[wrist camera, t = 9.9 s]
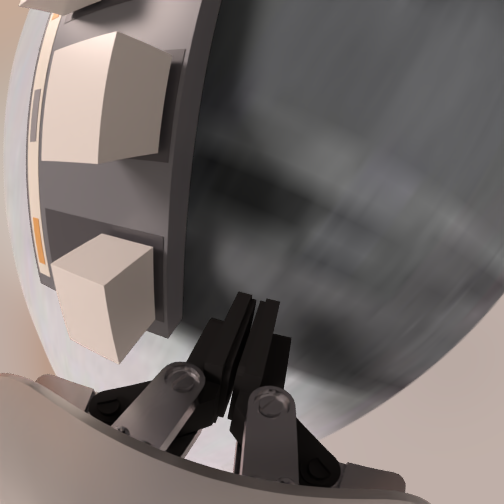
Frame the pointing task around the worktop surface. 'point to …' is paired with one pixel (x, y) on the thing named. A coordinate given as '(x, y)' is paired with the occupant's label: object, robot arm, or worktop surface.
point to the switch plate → (129, 169)
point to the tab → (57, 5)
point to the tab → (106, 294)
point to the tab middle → (104, 100)
